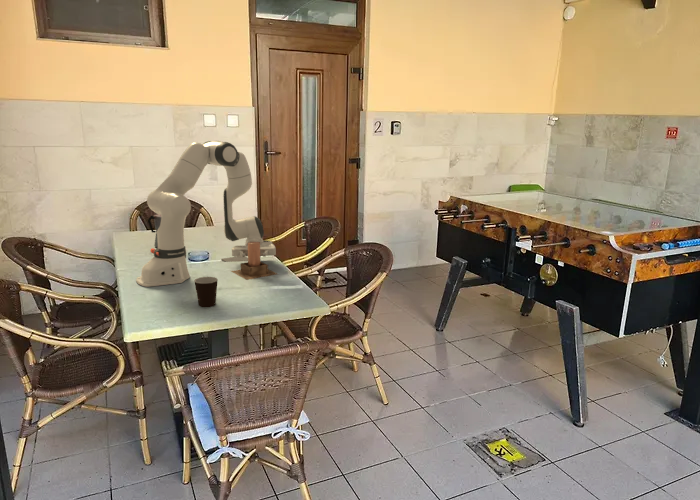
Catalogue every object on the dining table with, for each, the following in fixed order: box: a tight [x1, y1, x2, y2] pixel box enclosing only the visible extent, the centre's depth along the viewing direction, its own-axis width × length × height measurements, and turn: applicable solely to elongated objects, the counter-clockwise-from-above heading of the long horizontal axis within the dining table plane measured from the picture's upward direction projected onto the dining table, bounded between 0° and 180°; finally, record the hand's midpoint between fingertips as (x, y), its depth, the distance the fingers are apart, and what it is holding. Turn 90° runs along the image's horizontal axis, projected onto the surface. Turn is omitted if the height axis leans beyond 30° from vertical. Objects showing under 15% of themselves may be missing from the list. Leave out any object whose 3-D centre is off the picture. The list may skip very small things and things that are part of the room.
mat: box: [221, 256, 248, 263], centre depth 265 cm, size 12×12×1 cm
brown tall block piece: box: [247, 242, 261, 267], centre depth 239 cm, size 8×6×14 cm
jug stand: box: [230, 260, 278, 281], centre depth 242 cm, size 16×16×5 cm
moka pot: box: [147, 213, 161, 248], centre depth 288 cm, size 10×15×20 cm, turn 148°
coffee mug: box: [194, 276, 218, 309], centre depth 204 cm, size 12×9×10 cm
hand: (253, 255), depth 240 cm, fingers open, 8 cm apart
